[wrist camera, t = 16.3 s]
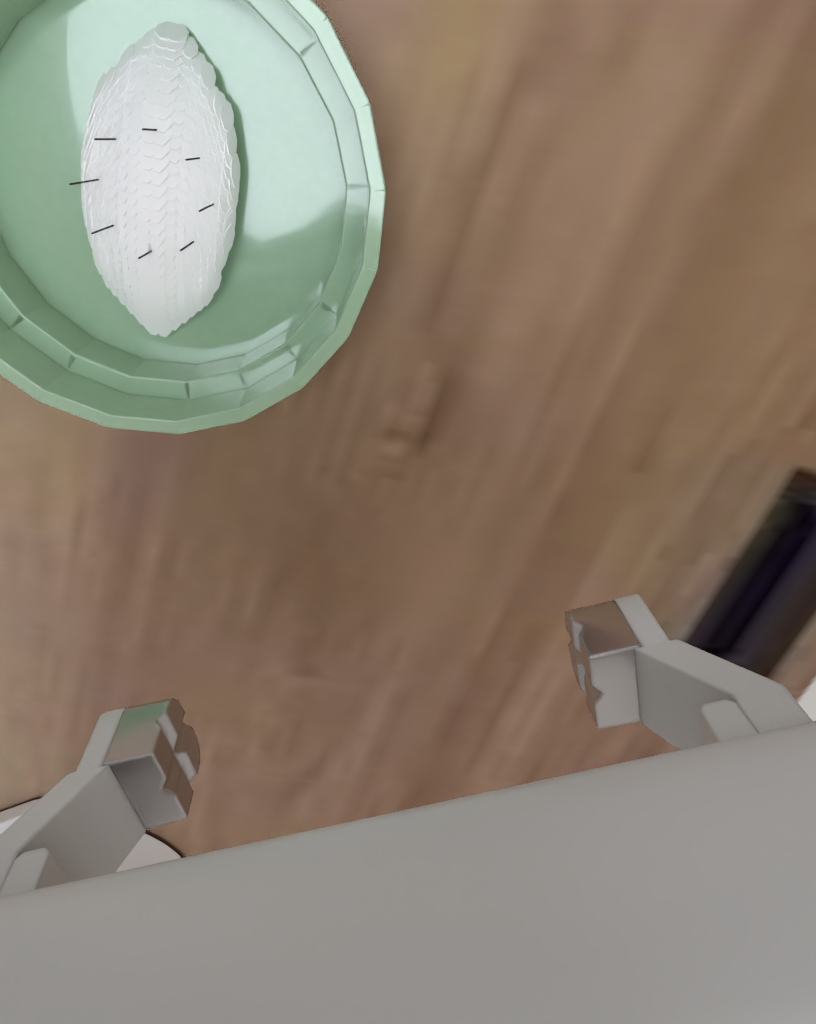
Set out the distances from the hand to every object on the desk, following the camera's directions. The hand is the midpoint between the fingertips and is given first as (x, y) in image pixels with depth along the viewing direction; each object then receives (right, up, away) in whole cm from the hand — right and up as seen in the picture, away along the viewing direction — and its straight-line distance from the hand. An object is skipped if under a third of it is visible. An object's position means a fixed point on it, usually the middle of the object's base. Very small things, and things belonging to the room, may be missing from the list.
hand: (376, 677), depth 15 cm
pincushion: (-9, +17, +16) cm, 25 cm away
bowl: (-9, +17, +16) cm, 25 cm away
